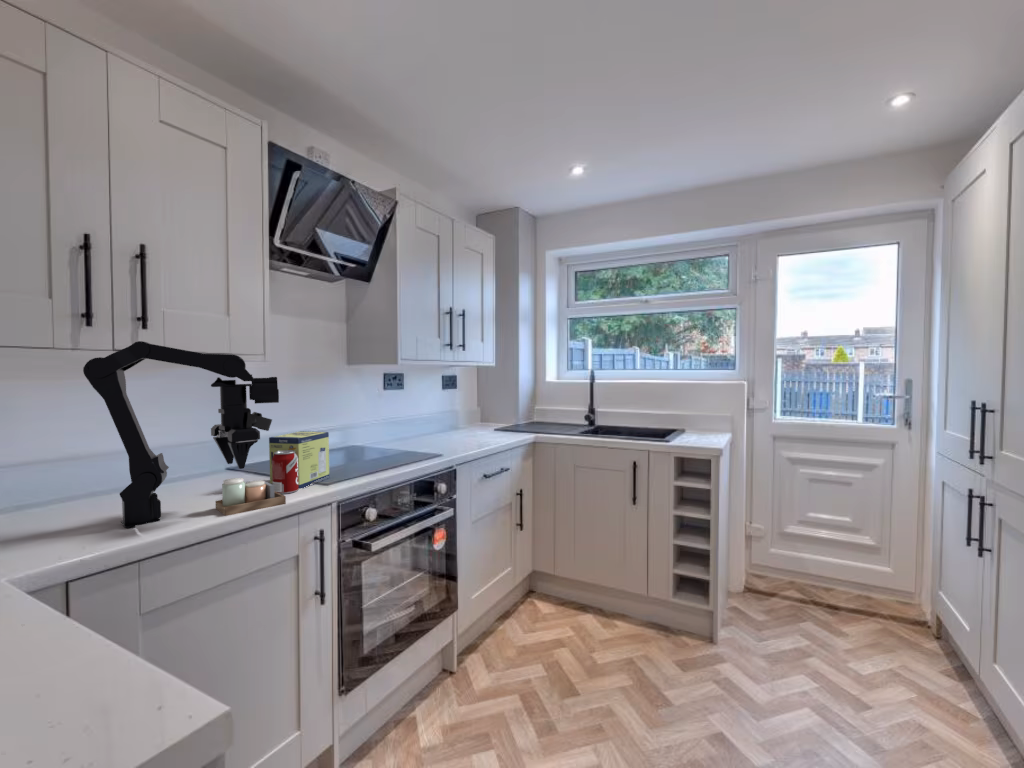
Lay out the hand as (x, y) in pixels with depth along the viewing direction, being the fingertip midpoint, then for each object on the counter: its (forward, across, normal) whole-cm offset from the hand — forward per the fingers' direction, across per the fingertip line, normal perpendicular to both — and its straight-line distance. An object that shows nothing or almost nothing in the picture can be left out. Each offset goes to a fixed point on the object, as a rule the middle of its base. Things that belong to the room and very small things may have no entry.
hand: (235, 466), depth 121 cm
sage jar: (+10, 0, +1) cm, 10 cm away
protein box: (+12, +18, -23) cm, 32 cm away
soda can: (+12, +9, -15) cm, 21 cm away
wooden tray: (+11, 0, -3) cm, 12 cm away
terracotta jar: (+11, 0, -4) cm, 12 cm away
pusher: (+11, 0, -8) cm, 14 cm away
